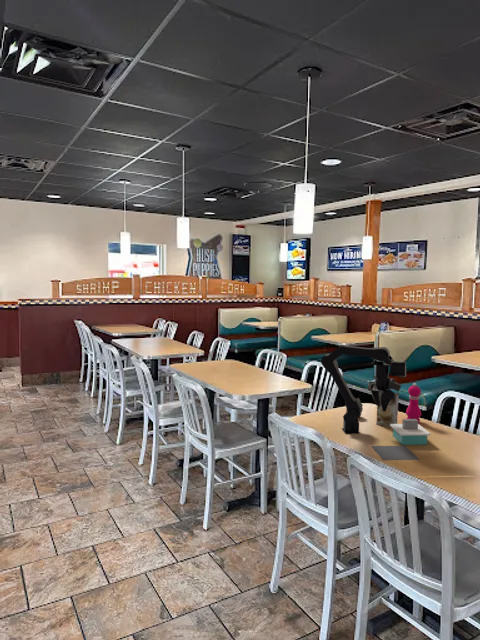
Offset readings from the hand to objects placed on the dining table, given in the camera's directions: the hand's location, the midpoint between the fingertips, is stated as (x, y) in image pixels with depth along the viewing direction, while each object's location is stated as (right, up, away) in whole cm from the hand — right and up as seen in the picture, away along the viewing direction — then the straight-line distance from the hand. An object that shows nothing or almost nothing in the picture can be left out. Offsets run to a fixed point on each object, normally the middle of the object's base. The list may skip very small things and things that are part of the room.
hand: (380, 408), depth 207 cm
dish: (+11, -14, -5) cm, 18 cm away
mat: (0, -15, -20) cm, 25 cm away
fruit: (-5, -10, +29) cm, 31 cm away
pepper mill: (+23, -11, +22) cm, 34 cm away
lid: (+11, -9, -6) cm, 15 cm away
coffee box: (+8, -12, +18) cm, 23 cm away
